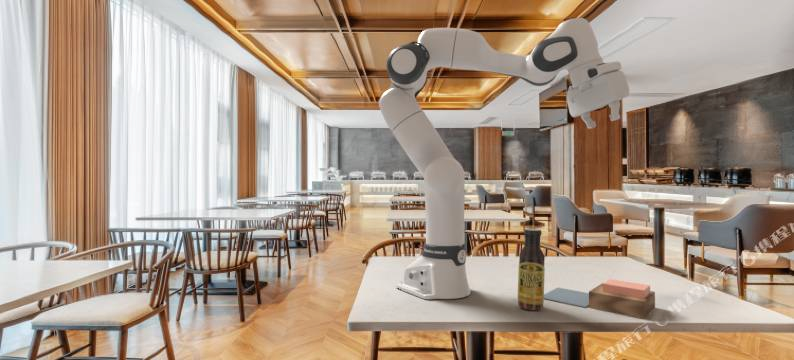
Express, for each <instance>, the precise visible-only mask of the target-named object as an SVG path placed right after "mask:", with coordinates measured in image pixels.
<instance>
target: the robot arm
mask: <svg viewBox="0 0 794 360" xmlns="http://www.w3.org/2000/svg"><path fill="white" fill-rule="evenodd" d="M486 40H487V39H485V37H484V36H483V35H482V34H481V33H480V32H477V31H474V30H470V29H466V28H457V27H456V28H454V27H433V28H427V29H426V28H425V30H422V32H420V35H419V36H418V38H417V40H416V41H411V42H409V43H406V44H402V45H399V46H397V47H395V48H394V49H392V51H391V52H389V54H388V55H387V59H386V72H387V74H388V76H389V78H390V84H391V85H390V87H389V89H387V90H385V91H384V92H383V93H382V95H380V98H379V100H378V106H379V110H380V112H381V114H382V117H383V119H384V121H385V123H386V124H387V127H388V128H389V130H390V131H391V133H392V135H393V136H394V137H395V139H396V140H397V142H398V143H399V145H400V147H402V149H403V151H404V152H405V154H406V155H407V156H408V158H409V159H410V161H411V162H412V164H413V166H415V168H416V169H417V171H418V172H419V174H420V175H421V176H422V178H423V180H424V186H423V187H424V205H425V206H424V207H425V243H423V244H419V245H418V247H419V248H418V250H421V254H420V256H418V257H417V258H416V259H415V260H413V261H412V262H411V263H409V264H408V265H407V266H406V267H405V269H404V274H403V275H404V276H403V280H401V281H399V282H398V283H396V286H395V287H397V288H396V289H398V288H399V289H398V290H400V289H401V291H403V292H406V293H407V294H411V295H412V296H416V297H418V298H419V299H423V300H437V299H439V300H453V299H462V298H465V297H468V296H470V294H471V293H472V292H471V288H470V285H469V281H468V275H467V269H466V261H467V246H466V245H467V243H465V188H466V187H465V184H466V183H465V182H466V181H465V180H466V179H465V170H464V168H463V166H462V164H461V163H460V162H459V161H458V160H457V159H455V158H454V156H453V154H452V153H451V152H450V150H449V148H448V147H447V145H446V144H445V142H444V140H443V139H442V137H441V136H440V135H441V134H440V133H439V132H438V131H437V129H436V128H435V126H434V125H433V124H432V121H430V120H431V119H429V118H428V116H427V114H426V113H425V112H424V110H423V109H422V107H421V106H420V104H419V103H418V101H417V99H416V98H417V97H418V96H419V94H420V93H421V92H422V90H423V89H424V88H425V86H426V84H427V81H428V71H431V70H432V69H436V68H445V69H446V68H447V69H453V70H464V71H478V72H486V73H492V74H497V75H498V74H499V75H503V76H509V77H515V78H519V79H521V80H523V81H525V82H526V83H528V84H530V85H532V86H537V87H542V86H547V85H548V84H550V83H551V82H553V81H554V80H555V78H556V77H557V75H558V74H559V73H560V72H561V71H563V70H566V71H567V72H568V73H567V74H568V75H569V78H570V82H571V85H570V86H569V87H568V90H567V91H566V92H567V93H566V102H567V107H568V110H569V114H570V116H571V117H572V118H577V117H580V118H581V120H582V121H583V122H584V123H585V124H586V127H587V129H588V130H589V129H594V128H596V127H597V124H596V120H593V119H592V118H591V112H593V111H596V110H598V109H601V108H604V107H605V106H608V107H609V108H610V114H609V115H608V117H609V118H610V121H611V122H614V121H617V120H620V119H621V115H620V107H621V103H620V101H621V100H623V99H626V98H628V97H629V95H630V87H629V83H628V81H627V78H626V75H625V73H624V72H623V71H622V70H621V69H622V63H621V62H620V61H609V62H604V60H603V57H602V56H601V54H600V52H599V44H598V40H597V37H596V35H595V33H594V29H593V28H592V26H591V24H590V23H589V21H588V19H586V18H582V17H573V18H570V19H567V20H564V21H562V22H561V23H560V24H558V26H557V27H556V29H554V31H553V32H552V33H551V34H550V35H548V36H547V37H545V38H544V39H543V40H542V41H541V40H540V41H539V42H538V43H537V44H536V45H535V46H534V48H533V49H532V51H531V53H530V54H527V55H520V54H516V53H515V54H513V53H508V52H501V51H498V50H495V49H494V48H493V47H492V46H490V44H489V43H488V42H487V41H486Z"/></svg>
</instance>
